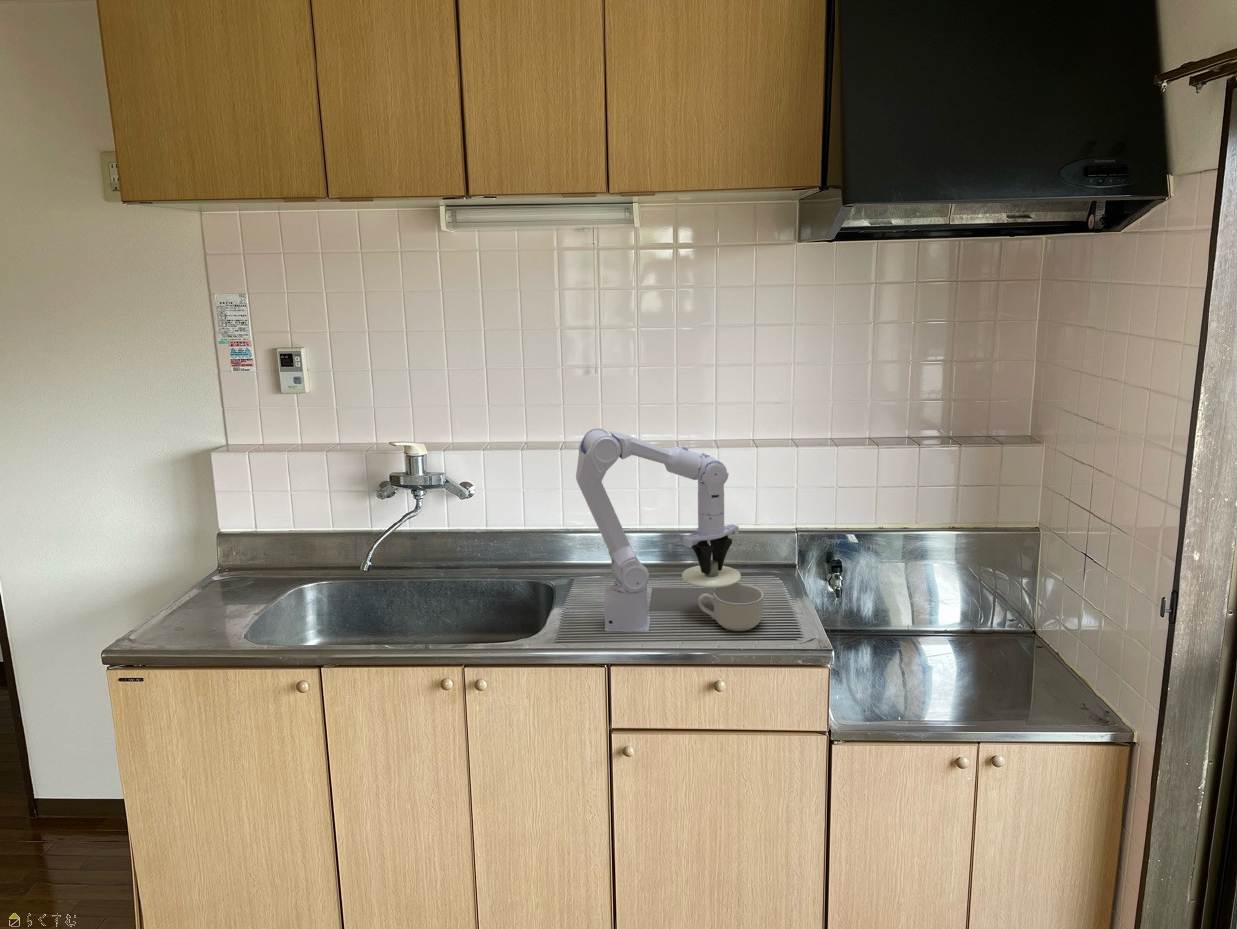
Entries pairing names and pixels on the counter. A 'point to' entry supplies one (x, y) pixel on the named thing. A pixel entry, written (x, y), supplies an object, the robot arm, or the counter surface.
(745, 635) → the counter surface
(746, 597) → the teacup
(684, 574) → the lid
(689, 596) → the mat
